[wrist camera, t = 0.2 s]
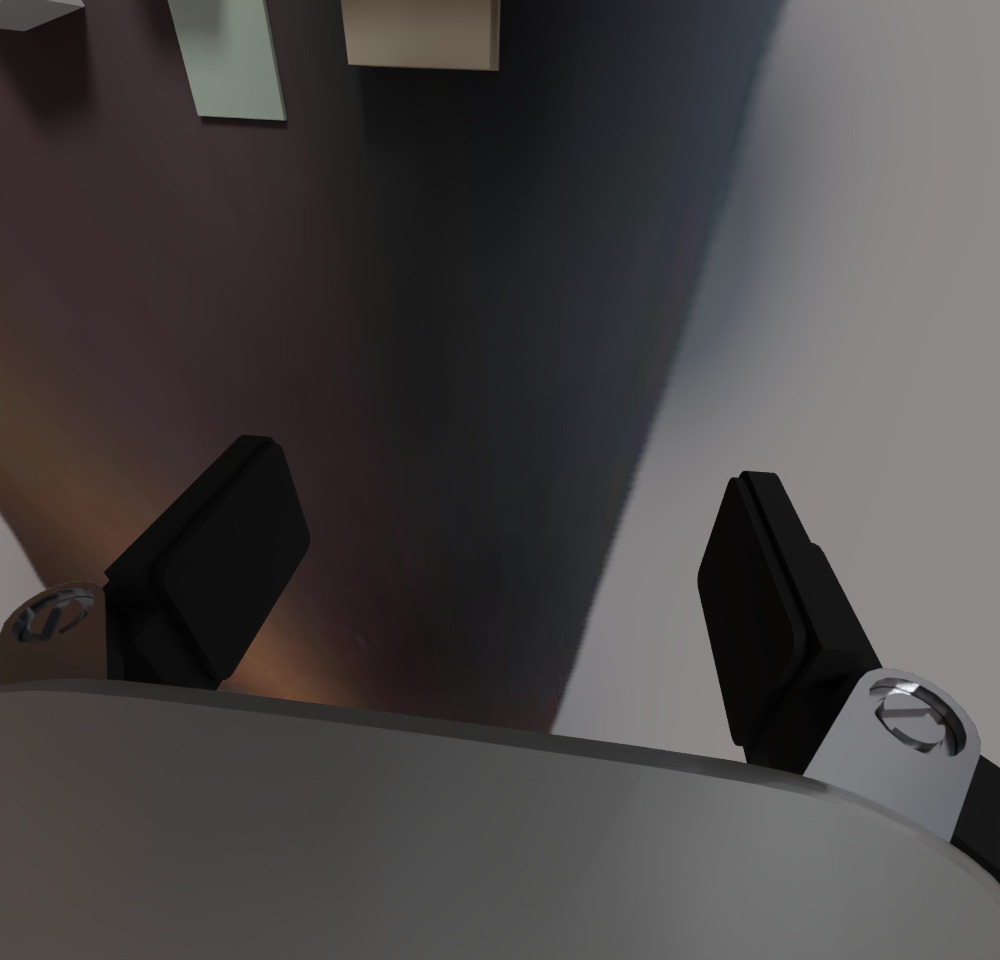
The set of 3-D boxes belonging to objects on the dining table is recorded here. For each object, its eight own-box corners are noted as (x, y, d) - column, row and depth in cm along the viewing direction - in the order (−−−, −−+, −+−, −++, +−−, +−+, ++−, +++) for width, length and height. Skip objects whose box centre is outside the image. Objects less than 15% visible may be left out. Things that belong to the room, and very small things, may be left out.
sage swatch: (169, -8, 31) (165, -9, 30) (264, -5, 30) (261, -6, 30) (201, 115, 34) (198, 115, 34) (287, 120, 34) (284, 120, 33)
